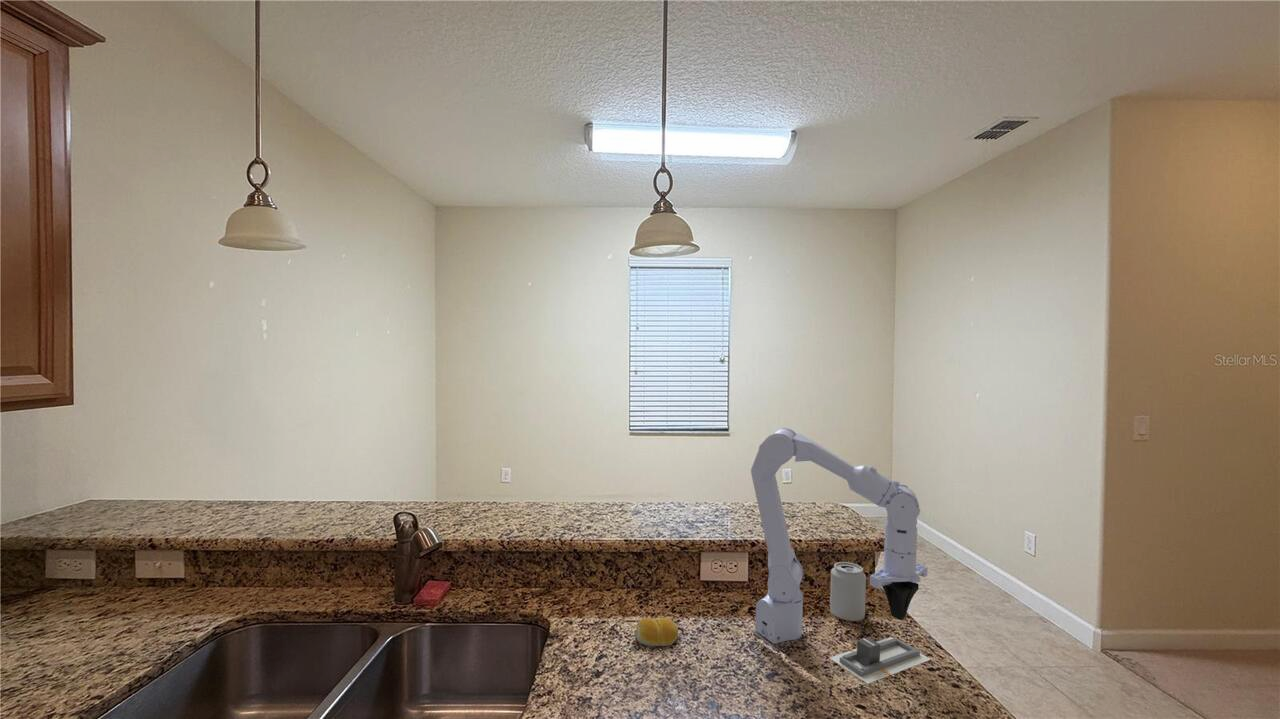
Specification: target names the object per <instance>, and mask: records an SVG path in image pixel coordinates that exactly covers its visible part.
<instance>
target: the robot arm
mask: <svg viewBox="0 0 1280 719" xmlns="http://www.w3.org/2000/svg"><path fill="white" fill-rule="evenodd" d="M793 457H795V459H794V462H796V463H797V462H812V463H814V464H816V465H817V466H819V467H821V468H823V469H826V470H827V471H829V472H830V473H833V474H835V475H836V476H838V477H840V478H842V479H844V480H846V482H847V485H848V488H849V489H850V491H852V492H854V493H856V494H857V495H859V496H861V497H862V498H864V499H866V500H868V501H870V502H871V503H873V504H875V505H876V506H878V507H881V508H883V509H884V508H885V510H886V522H885V524H884V548H883V549H884V550H883V566H882V567H881V568H880V569H879V570H878V571H877V572H875V573H874V574H870V576H869V586H871V587H873V588H875V589H877V590H881V589H883V591H884V594H885V596H886V599H887V602H888V606H889V611H890V616H891V617H893V618H895V619H897V620H899V621H902V620H905V619H906V615H907V613H908V610H909V607H910V604H911V601H912V600H913V597H914V596H915V594H916V593H917V592H918V590H919V583H921V579H922V578H925V577H928V566H927V565H924V564H921V563H917V551H918V550H917V549H918V546H917V545H918V527H917V525H918V516H920V514H921V508H920V504H919V501H918V498H917V496H916V493H915V492H914V491H913V490H912V489H911V488H909V486H907V485H905V484H901V483H900V481H897V480H896V479H895V480H894V481H893V480H891V479H890V478H888V477H886V476H884V475H883V474H882V473H879V472H877V471H878V469H877V468H876V467H875V466H873V465H870V466H866V465H864V464H863V465H856V466H854V465H852V464H851V463H850V462H848V461H846V460H845V459H843V458H841V457H840V456H838V455H837V454H835V453H833V452H832V451H830V450H829V449H827V448H825V447H824V446H823V445H820V444H819V443H817V442H815V441H814V440H812V439H810V438H809V437H807V436H806V435H804V434H801V433H796V431H794V430H793V429H791V428H789V427H788V428H787V427H782V428H778V429H776V430H774V432H773V433H771V434H770V435H768V436H767V437H766V438H765V440H763V441H762V443H761V444H760V445H759V446H758V451H757V452H756V456H755V459H754V461H753V463H752V465H751V469H750V473H751V478H752V483H753V488H754V492H755V493H754V494H755V497H756V502H757V507H758V511H759V515H760V520H761V525H762V526H761V527H762V529H763V533H764V537H765V538H764V539H765V544H766V548H767V549H766V550H767V556H768V557H767V558H768V559H767V568H768V578H767V589H768V590H767V593H766V595H765V596H764V597H763V598H761V599H759V600H758V601H757V603H756V605H755V623H754V624H755V627H754V629H755V631H754V630H752V634H753V635H755V636H757V637H758V638H759V639H760V640H762V641H763V642H765V643H766V644H767V645H769V647H771V648H773V649H774V650H775V651H780V648H778V647H776V646H775V644H779V643H782V642H786V641H795V640H798V639H800V638H801V637H802V634H803V607H804V606H803V602H804V595H803V591H802V590H801V589H800V585H801V582H802V580H803V578H804V569H803V566H802V564H801V563H800V562H799V560H798V559H797V557H796V553H795V550H794V549H793V547H792V545H791V540H790V536H789V532H788V526H787V522H786V518H785V513H784V508H783V503H782V501H781V495H780V491H779V486H778V482H777V476H776V474H777V472H778V471H779V470H780V469H781V467H782V466H783V465H785V464H786V463H788V462H789V461H790V460H791V459H792V458H793ZM921 577H922V578H921Z"/></svg>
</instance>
